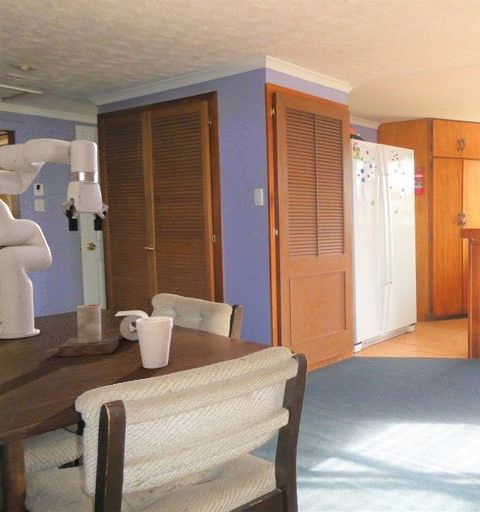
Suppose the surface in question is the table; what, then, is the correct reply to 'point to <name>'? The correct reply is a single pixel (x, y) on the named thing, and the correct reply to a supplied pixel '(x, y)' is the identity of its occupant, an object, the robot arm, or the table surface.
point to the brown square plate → (88, 346)
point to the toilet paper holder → (126, 326)
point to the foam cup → (154, 340)
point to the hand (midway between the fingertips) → (86, 230)
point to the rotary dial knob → (89, 323)
